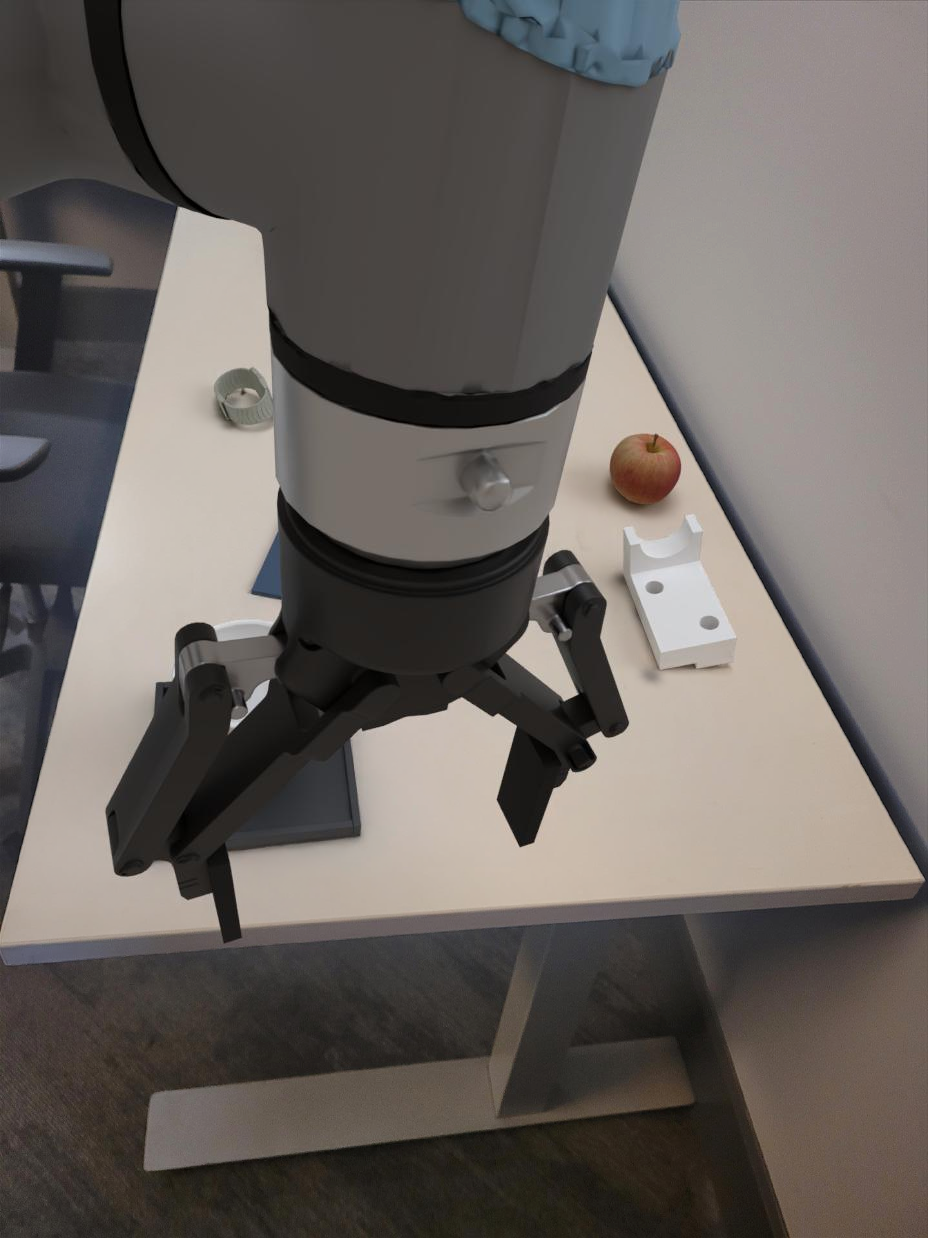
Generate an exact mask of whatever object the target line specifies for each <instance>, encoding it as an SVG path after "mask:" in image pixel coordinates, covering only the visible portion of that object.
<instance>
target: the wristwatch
mask: <svg viewBox="0 0 928 1238" xmlns="http://www.w3.org/2000/svg"><path fill="white" fill-rule="evenodd" d="M239 389H250V390H253V391H255V392H256V394H257V395H258V397H259V398H260V400H259V401H258V402H256V403H255V404H252V405H250V406H245V407H244V406H243V407H238V406H233V405H231V404H230V403H228V402H226V398H227V395H228V394H230V393H231V392H233V391H235V390H236V391H237V390H239ZM213 393H214V395H215V398H216V400H217V402H218V405H219V408H220V409H221V411H222V413H223V415H224V417H225V419H226V420H228V421H229V420H231V421H232V422H234V423H236V424H239V425H243V426H254V425H258V424H262V423H264V422H266V421H268V420H270V419H271V418H272V417H273V397H272V393H271V391H270V388H269V385H268V382H267V381H266V379H265V376H263V375H262V374H261V372H259V370H257V368H255V367H254V366H251V367H249V368H248V367H235V368H232V369H229V370H227V371H226V372H224V373H222V374H221V375H220V376H219V377H217V379H216V380H215V382H214V384H213Z"/></svg>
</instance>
